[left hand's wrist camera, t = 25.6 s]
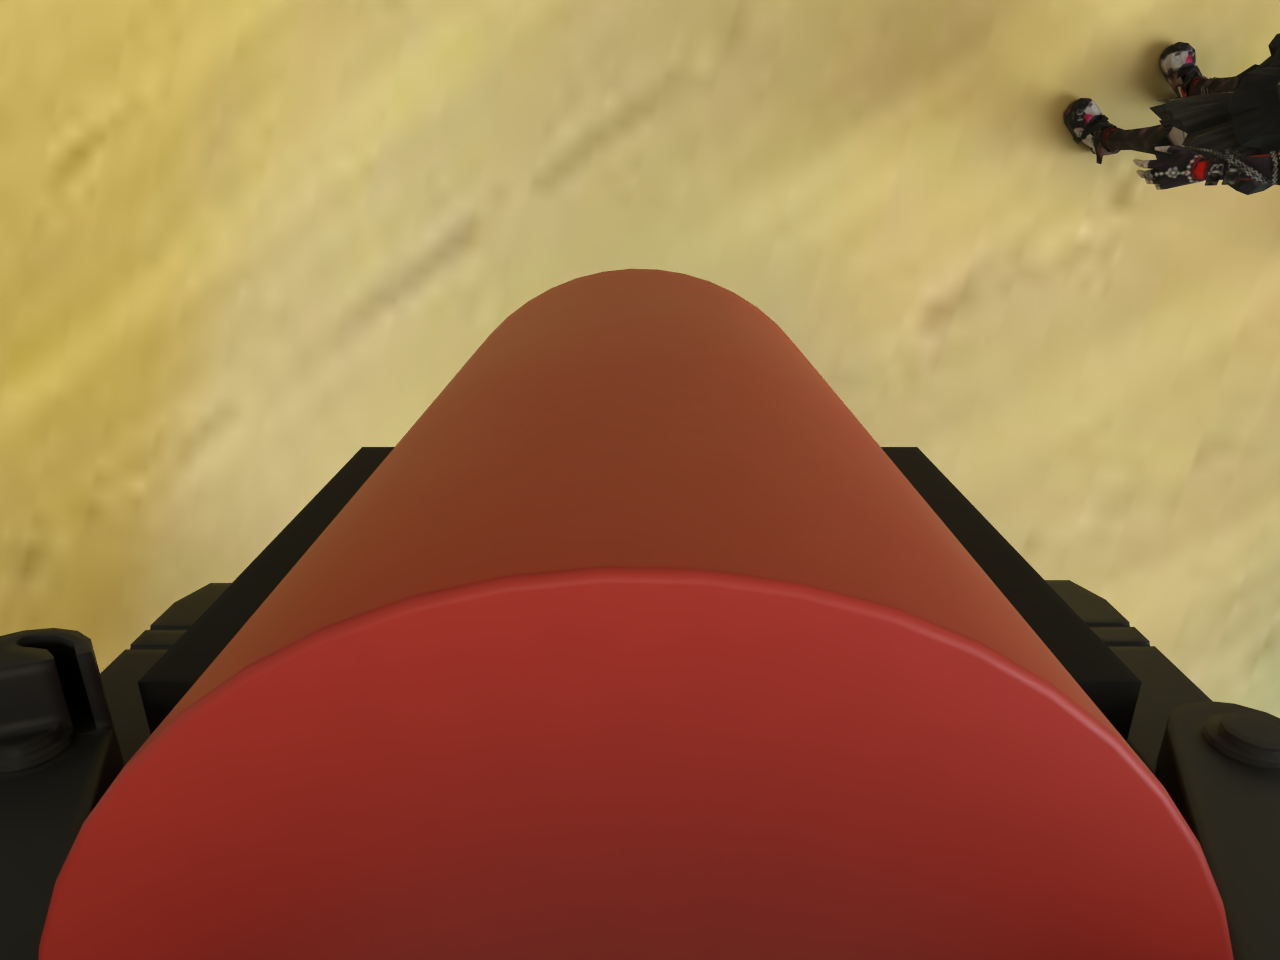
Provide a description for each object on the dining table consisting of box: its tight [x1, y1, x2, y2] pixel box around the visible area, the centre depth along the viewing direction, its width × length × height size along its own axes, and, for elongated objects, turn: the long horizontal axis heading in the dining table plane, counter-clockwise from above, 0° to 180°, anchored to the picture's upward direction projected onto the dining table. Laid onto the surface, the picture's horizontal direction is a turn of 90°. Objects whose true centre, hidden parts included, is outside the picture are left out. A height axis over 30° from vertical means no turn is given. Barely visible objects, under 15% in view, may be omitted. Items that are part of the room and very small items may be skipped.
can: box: [38, 269, 1234, 960], centre depth 11 cm, size 7×7×12 cm
